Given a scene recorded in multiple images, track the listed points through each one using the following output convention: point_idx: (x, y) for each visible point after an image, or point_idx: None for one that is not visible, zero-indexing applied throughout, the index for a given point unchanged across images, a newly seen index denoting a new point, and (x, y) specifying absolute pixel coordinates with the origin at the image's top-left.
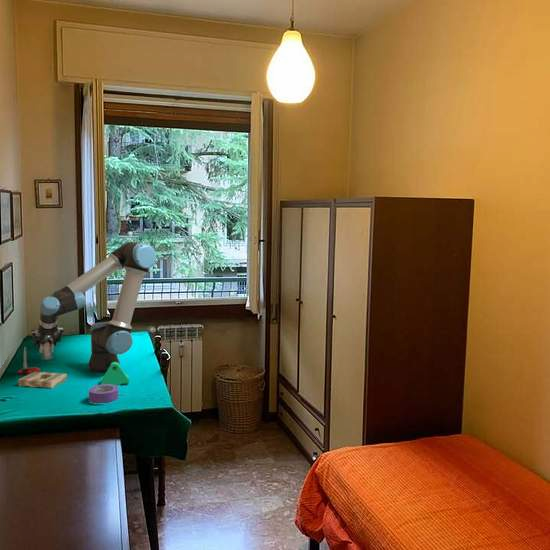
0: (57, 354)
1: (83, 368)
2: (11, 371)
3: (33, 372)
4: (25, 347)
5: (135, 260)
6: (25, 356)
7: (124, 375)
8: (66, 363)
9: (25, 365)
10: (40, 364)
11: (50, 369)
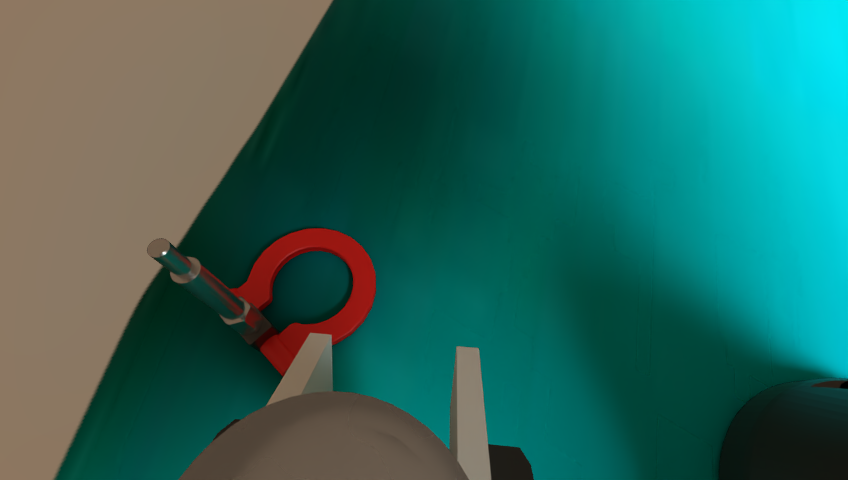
0: (537, 38)
1: (677, 430)
2: (214, 228)
3: None
4: (159, 255)
5: None
6: (205, 301)
7: None
8: (565, 228)
9: (238, 327)
10: (412, 170)
11: (442, 317)
